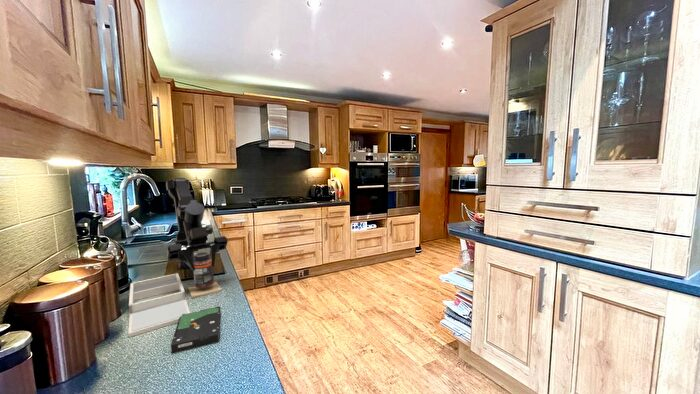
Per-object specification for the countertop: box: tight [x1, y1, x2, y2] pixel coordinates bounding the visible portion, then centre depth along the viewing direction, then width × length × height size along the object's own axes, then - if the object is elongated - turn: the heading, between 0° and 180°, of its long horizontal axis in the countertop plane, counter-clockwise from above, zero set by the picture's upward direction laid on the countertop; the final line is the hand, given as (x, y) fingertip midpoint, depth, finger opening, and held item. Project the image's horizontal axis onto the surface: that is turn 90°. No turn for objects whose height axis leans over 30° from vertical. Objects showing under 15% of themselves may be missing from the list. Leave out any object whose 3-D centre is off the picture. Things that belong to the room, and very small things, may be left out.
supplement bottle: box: [193, 252, 215, 288], centre depth 96 cm, size 6×6×11 cm
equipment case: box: [127, 272, 191, 338], centre depth 87 cm, size 32×14×4 cm, turn 37°
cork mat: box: [187, 280, 223, 299], centre depth 97 cm, size 9×9×1 cm
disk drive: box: [170, 306, 222, 354], centre depth 73 cm, size 10×3×15 cm
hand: (203, 268), depth 95 cm, fingers closed on supplement bottle, 6 cm apart
